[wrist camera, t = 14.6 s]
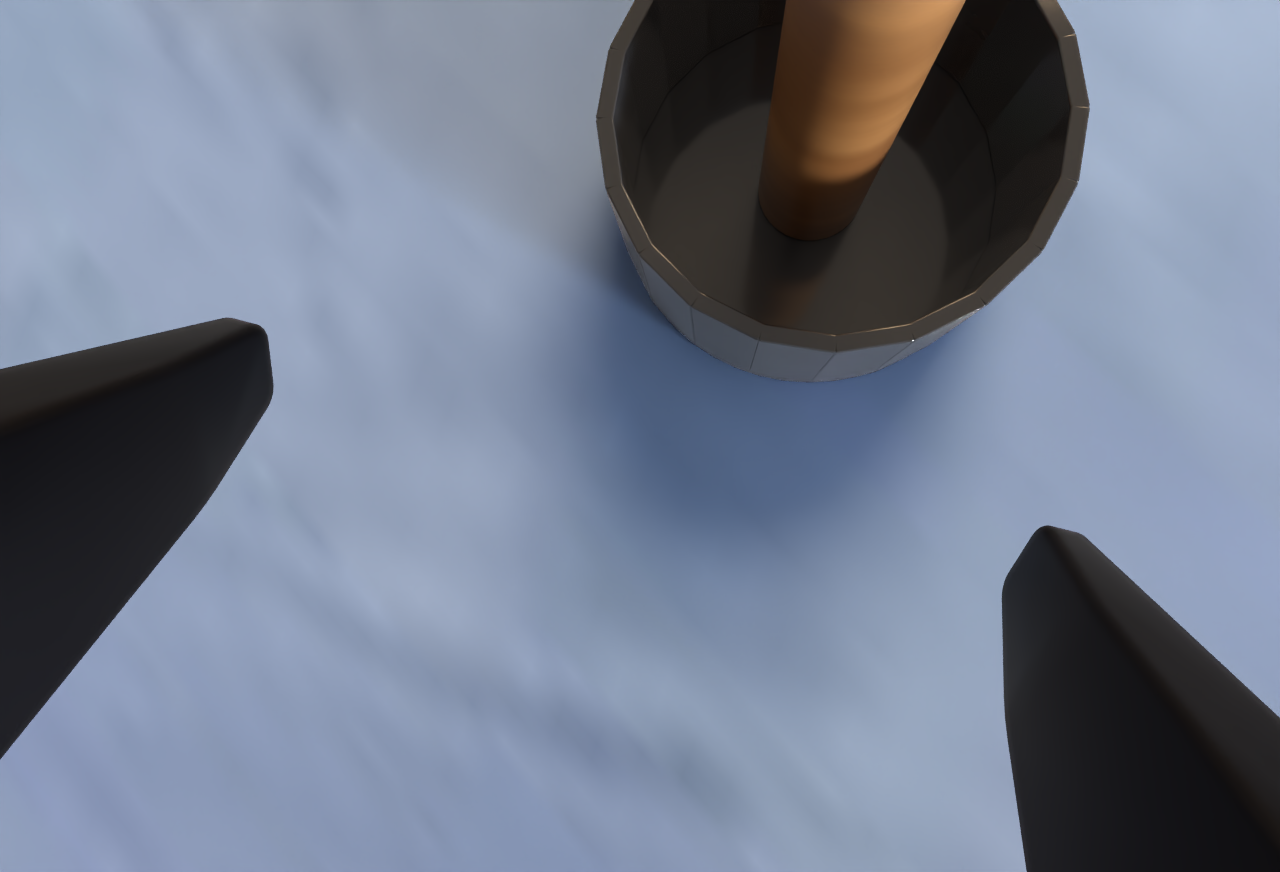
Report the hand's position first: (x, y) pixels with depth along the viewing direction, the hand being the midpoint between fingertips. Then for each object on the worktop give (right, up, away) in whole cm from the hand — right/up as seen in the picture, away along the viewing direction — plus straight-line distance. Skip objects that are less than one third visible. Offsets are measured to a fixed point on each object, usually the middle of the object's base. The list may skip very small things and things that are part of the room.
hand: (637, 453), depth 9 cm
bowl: (+5, +7, +13) cm, 16 cm away
